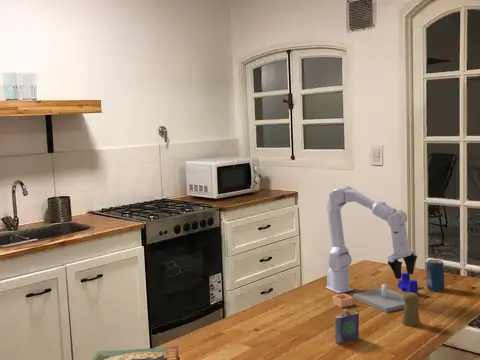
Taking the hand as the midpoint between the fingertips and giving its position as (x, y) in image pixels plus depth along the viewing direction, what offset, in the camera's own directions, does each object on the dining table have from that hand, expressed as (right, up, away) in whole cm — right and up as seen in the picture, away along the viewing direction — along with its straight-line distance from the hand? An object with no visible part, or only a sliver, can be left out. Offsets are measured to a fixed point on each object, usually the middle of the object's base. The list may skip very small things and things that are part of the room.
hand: (404, 276), depth 217 cm
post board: (-7, -10, +3) cm, 13 cm away
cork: (-4, -13, -21) cm, 25 cm away
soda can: (+17, -8, +15) cm, 24 cm away
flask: (-29, -16, -33) cm, 46 cm away
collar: (-24, -11, +2) cm, 26 cm away
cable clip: (+6, -9, +15) cm, 18 cm away
